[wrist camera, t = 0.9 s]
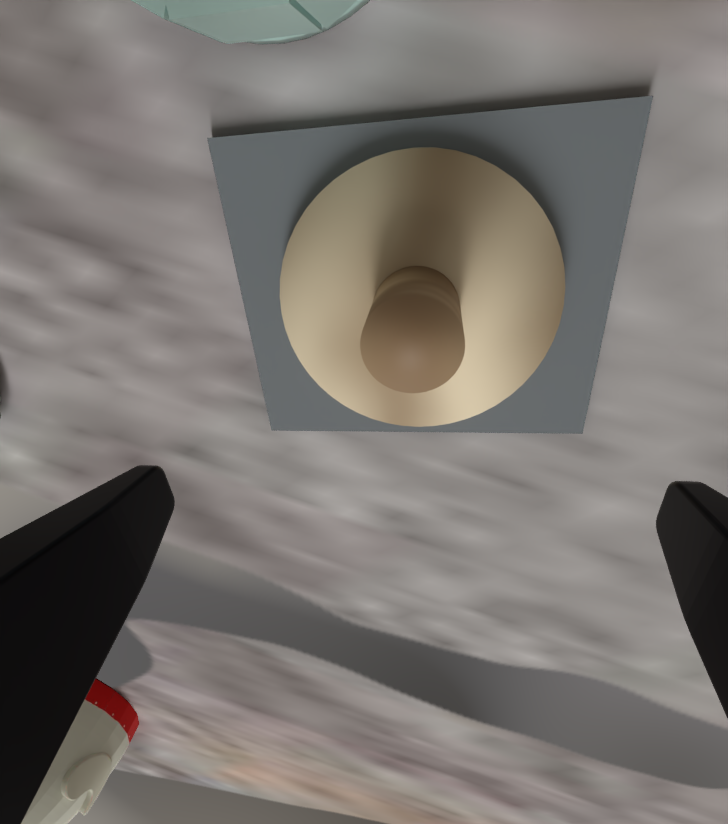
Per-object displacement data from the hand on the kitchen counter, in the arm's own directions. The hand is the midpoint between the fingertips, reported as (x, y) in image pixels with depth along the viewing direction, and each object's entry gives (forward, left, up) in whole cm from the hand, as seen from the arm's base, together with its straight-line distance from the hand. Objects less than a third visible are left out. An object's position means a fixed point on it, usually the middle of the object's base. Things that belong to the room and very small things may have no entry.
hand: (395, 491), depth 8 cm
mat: (0, 0, -11) cm, 11 cm away
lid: (0, 0, -11) cm, 11 cm away
